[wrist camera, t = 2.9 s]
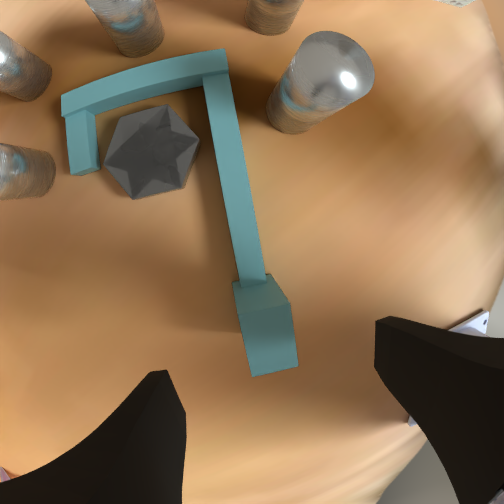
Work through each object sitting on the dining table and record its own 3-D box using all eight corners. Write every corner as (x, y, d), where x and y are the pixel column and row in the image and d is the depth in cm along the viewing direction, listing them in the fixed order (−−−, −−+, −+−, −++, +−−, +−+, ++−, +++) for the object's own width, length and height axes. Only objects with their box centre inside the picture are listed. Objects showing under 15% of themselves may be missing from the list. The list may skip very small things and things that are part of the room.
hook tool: (279, 325, 15) (298, 366, 11) (130, 352, 14) (110, 394, 11) (231, 61, 12) (237, 20, 8) (74, 103, 11) (36, 81, 7)
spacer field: (320, 132, 13) (382, 100, 7) (25, 203, 12) (-47, 213, 6) (285, 2, 11) (315, -62, 6) (21, 74, 10) (-35, 45, 4)
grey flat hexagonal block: (208, 183, 13) (207, 182, 12) (119, 204, 13) (110, 205, 12) (194, 107, 13) (192, 98, 11) (108, 130, 12) (98, 124, 11)
